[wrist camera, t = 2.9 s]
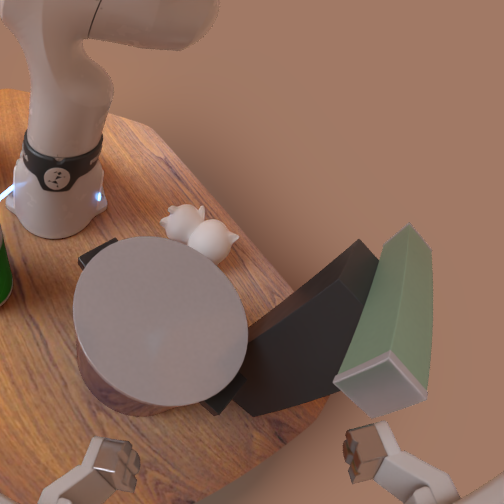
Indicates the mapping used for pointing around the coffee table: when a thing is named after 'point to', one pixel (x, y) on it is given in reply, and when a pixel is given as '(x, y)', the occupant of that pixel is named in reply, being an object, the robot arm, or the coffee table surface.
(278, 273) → the coffee table surface
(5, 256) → the soda can
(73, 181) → the robot arm
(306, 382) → the pedestal
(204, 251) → the cat figurine
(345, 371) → the green long square bar
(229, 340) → the stock pot
